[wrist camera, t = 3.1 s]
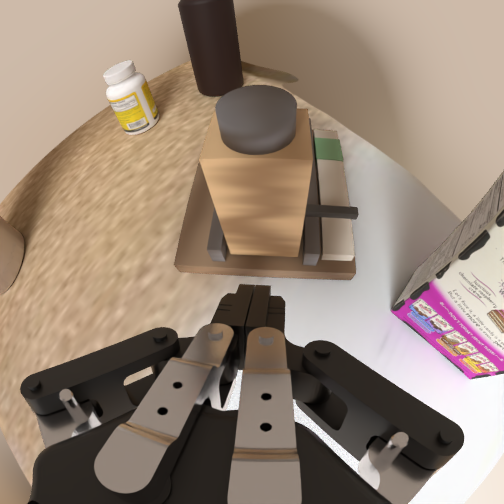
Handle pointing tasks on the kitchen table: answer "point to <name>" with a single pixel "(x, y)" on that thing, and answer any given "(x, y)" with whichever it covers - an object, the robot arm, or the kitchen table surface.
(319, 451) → the robot arm
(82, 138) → the kitchen table surface
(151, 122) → the supplement bottle
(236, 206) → the block
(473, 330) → the candy bar box
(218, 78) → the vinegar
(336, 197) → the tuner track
